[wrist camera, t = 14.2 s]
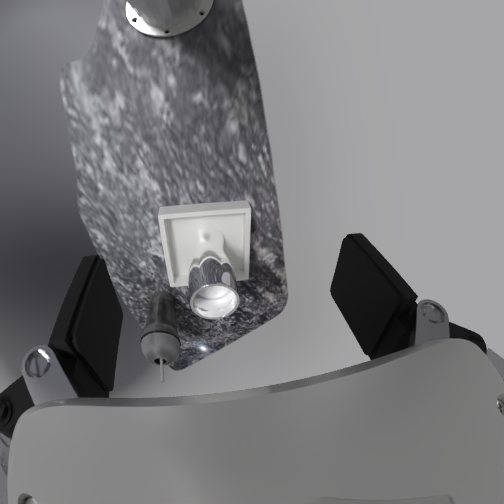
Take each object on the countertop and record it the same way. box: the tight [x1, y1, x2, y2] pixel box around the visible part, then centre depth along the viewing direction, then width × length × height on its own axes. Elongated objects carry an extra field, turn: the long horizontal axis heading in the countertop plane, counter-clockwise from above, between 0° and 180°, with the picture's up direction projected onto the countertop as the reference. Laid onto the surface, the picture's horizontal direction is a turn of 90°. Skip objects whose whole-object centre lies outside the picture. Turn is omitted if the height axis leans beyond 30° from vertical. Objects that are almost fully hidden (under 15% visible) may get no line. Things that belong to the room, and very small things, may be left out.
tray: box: [158, 201, 251, 287], centre depth 46 cm, size 15×15×3 cm
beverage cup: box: [141, 291, 181, 382], centre depth 45 cm, size 7×7×20 cm
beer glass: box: [188, 228, 239, 319], centre depth 41 cm, size 7×7×15 cm
